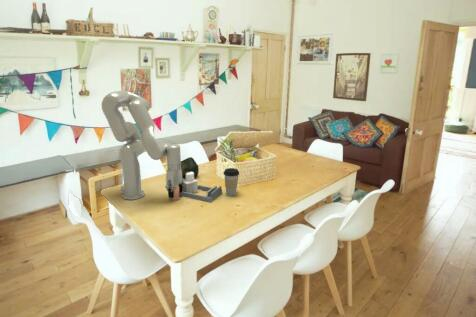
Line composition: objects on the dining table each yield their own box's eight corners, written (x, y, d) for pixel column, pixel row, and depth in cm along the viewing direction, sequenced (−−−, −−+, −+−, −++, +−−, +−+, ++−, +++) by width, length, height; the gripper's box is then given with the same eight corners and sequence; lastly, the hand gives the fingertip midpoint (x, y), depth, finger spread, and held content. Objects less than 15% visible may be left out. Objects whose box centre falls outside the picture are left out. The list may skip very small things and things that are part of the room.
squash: (169, 169, 216) (179, 156, 208) (185, 164, 228) (195, 152, 220) (180, 186, 213) (191, 173, 204) (196, 180, 225) (207, 168, 216)
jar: (167, 199, 184) (167, 185, 181) (173, 196, 188) (172, 182, 186) (176, 201, 181) (175, 187, 179) (181, 197, 186) (180, 183, 184)
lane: (173, 194, 191) (172, 186, 189) (186, 186, 203) (185, 178, 202) (211, 202, 181) (211, 194, 180) (222, 193, 193) (222, 185, 192)
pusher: (206, 200, 184) (206, 192, 182) (215, 193, 194) (215, 185, 192) (208, 200, 184) (208, 192, 182) (216, 193, 193) (217, 185, 192)
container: (180, 191, 195) (179, 171, 191) (190, 188, 200) (190, 168, 196) (187, 195, 189) (186, 175, 186) (197, 192, 194) (197, 172, 190)
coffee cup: (229, 198, 187) (229, 174, 183) (220, 192, 194) (220, 169, 190) (242, 194, 192) (242, 171, 188) (232, 189, 200) (233, 166, 195)
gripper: (177, 160, 188) (178, 188, 193) (159, 169, 173) (161, 199, 178) (188, 162, 185) (189, 190, 191) (170, 171, 170) (172, 201, 175)
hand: (175, 194), depth 184 cm, fingers open, 8 cm apart
